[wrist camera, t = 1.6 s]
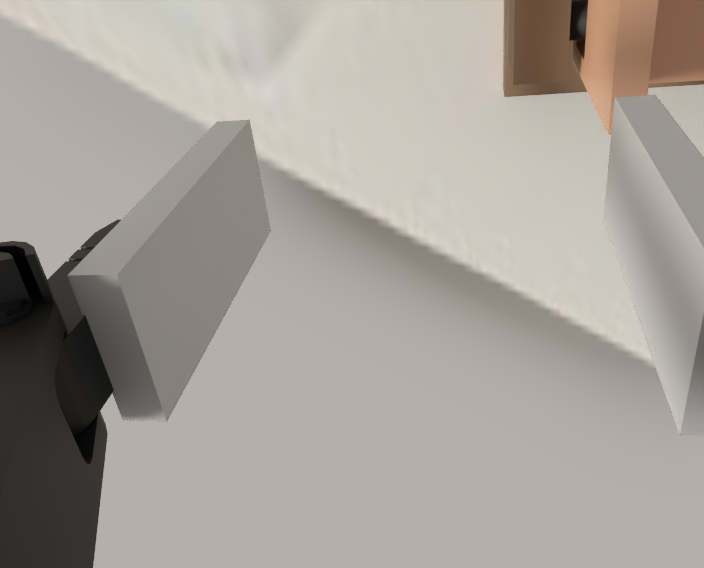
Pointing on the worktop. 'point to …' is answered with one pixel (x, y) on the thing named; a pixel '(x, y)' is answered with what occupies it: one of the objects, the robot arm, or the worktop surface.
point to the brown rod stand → (546, 47)
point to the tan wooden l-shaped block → (638, 48)
